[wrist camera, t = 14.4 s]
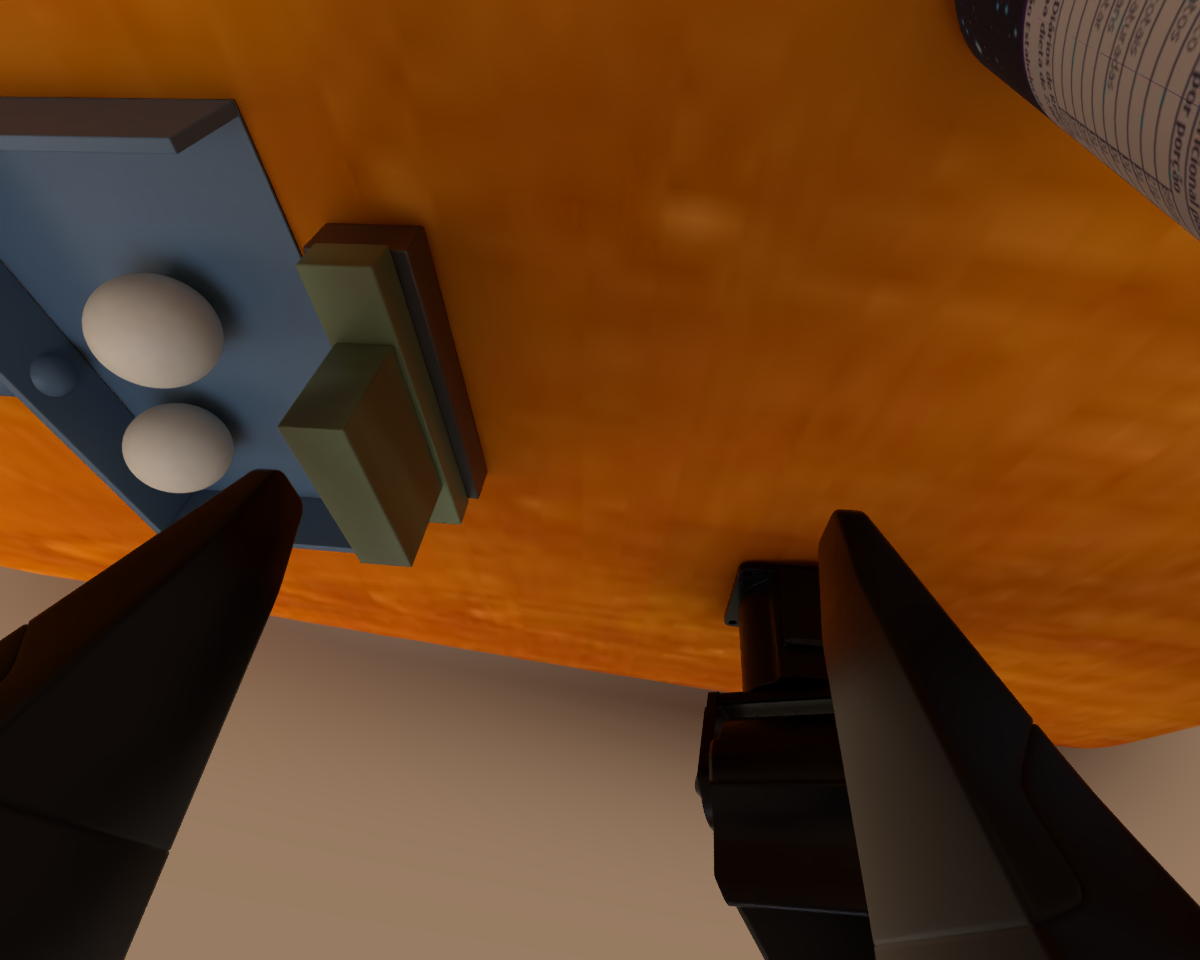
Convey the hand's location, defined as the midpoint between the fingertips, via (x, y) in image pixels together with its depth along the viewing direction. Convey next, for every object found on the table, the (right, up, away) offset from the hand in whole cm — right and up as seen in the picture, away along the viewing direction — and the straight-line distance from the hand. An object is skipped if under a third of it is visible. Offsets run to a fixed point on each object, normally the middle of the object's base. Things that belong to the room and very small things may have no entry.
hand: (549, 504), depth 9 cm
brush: (-6, +5, +14) cm, 16 cm away
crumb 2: (-17, +3, +17) cm, 24 cm away
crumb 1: (-16, +7, +12) cm, 21 cm away
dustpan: (-21, +6, +15) cm, 26 cm away
